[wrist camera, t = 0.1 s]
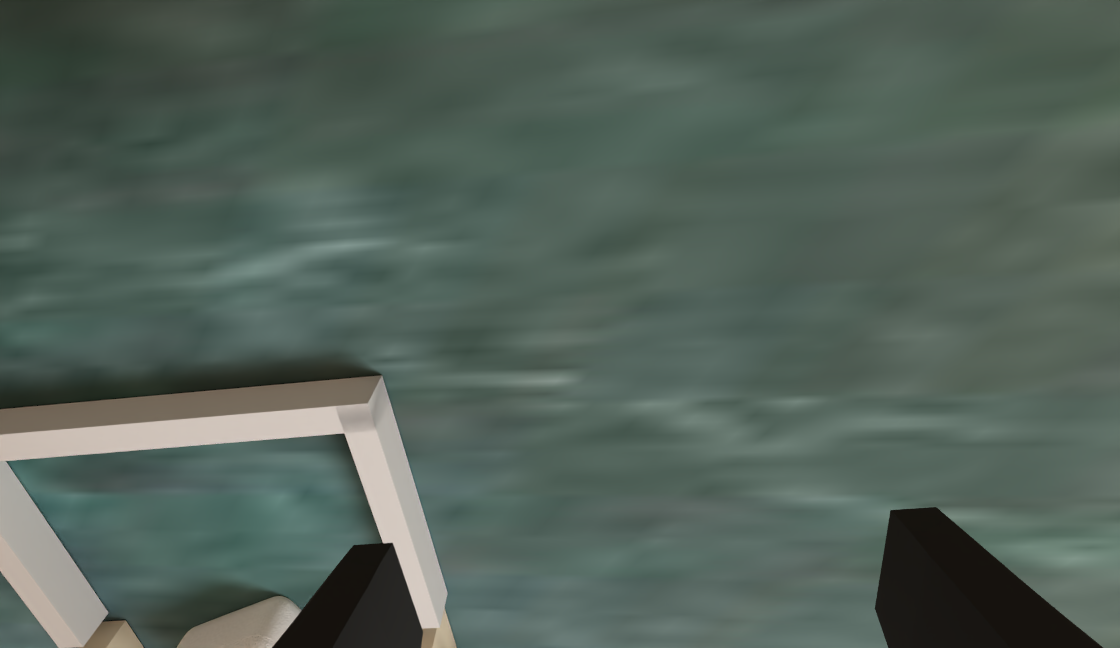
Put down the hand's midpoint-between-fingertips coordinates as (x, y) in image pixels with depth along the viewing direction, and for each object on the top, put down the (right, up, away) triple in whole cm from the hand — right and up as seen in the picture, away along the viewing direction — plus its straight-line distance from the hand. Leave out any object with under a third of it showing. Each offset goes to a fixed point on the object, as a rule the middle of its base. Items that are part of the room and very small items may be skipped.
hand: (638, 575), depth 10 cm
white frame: (-14, -3, +13) cm, 19 cm away
